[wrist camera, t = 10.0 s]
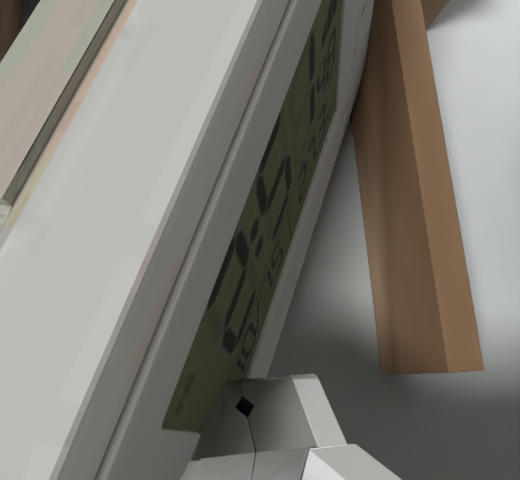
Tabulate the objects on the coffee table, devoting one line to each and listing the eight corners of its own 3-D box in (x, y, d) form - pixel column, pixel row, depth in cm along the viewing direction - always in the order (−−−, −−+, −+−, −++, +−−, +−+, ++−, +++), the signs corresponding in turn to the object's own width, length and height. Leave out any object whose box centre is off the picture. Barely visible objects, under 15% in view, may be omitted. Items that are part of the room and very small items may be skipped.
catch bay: (419, 11, 20) (507, -105, 15) (480, 367, 16) (619, 362, 11) (-97, -56, 15) (-200, -246, 11) (-172, 410, 12) (-373, 430, 7)
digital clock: (176, 574, 13) (323, 1294, 3) (-136, 387, 12) (-1384, 408, 2) (419, 120, 18) (755, -193, 8) (212, -19, 18) (308, -527, 8)
